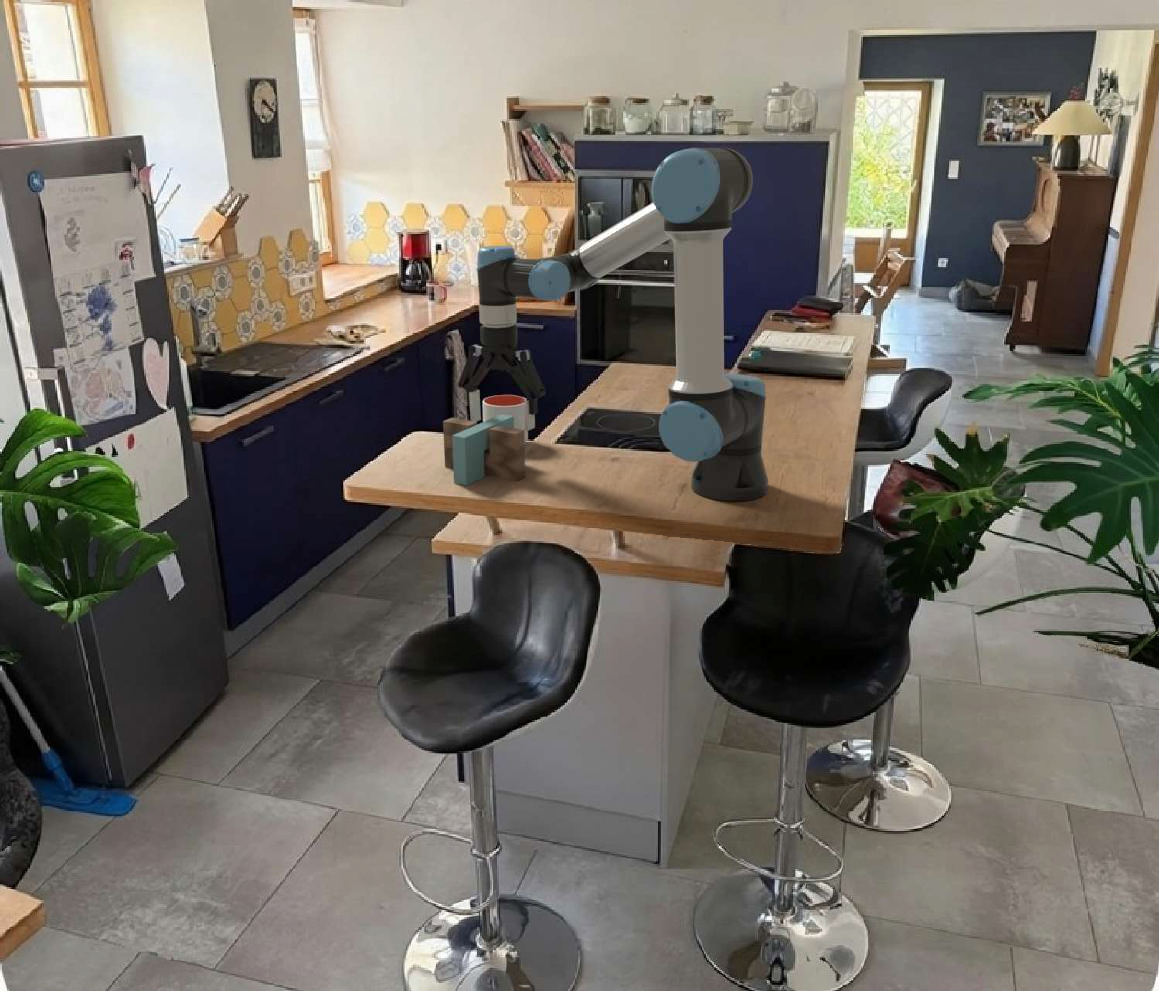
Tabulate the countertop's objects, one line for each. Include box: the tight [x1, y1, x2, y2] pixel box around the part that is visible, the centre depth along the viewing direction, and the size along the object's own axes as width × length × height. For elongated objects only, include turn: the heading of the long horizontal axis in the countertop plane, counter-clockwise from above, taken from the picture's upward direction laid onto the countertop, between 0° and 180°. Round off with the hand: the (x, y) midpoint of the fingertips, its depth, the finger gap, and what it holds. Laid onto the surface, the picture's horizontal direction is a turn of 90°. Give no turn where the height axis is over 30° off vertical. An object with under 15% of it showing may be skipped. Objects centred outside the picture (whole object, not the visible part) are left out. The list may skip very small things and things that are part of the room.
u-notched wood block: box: [442, 417, 526, 482], centre depth 211 cm, size 18×3×10 cm, turn 61°
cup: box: [482, 394, 529, 444], centre depth 230 cm, size 10×10×10 cm
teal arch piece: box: [452, 414, 514, 486], centre depth 211 cm, size 18×3×10 cm, turn 151°
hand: (502, 425), depth 215 cm, fingers open, 13 cm apart
